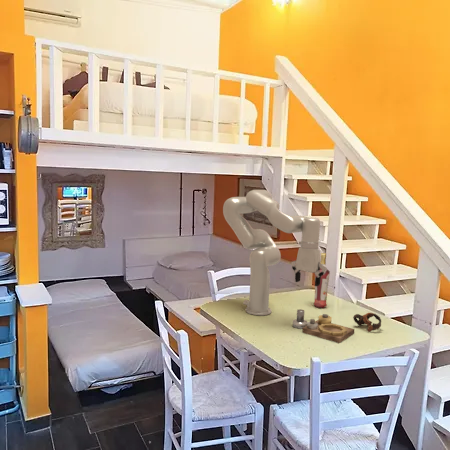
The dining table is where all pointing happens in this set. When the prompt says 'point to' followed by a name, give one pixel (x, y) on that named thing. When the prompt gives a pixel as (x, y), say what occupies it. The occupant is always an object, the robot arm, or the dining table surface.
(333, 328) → the carrier board
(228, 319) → the dining table surface
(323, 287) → the liquor
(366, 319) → the brown creature figurine
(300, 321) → the knobbed round disc
